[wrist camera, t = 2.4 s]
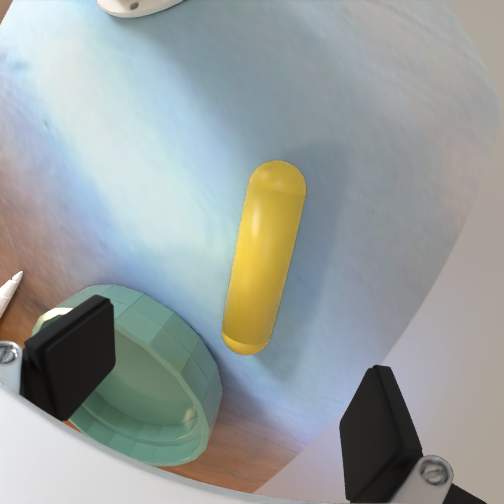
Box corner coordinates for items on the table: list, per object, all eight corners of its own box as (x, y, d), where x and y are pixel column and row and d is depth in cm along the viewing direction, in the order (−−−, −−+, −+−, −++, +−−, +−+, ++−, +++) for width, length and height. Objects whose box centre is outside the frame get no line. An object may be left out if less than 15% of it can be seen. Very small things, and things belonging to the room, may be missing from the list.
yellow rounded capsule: (257, 156, 19) (250, 153, 16) (310, 167, 19) (314, 166, 15) (223, 332, 23) (213, 357, 20) (268, 342, 23) (263, 370, 19)
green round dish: (56, 260, 24) (17, 279, 18) (238, 315, 22) (223, 355, 17) (75, 394, 29) (53, 420, 24) (212, 447, 28) (200, 484, 22)
